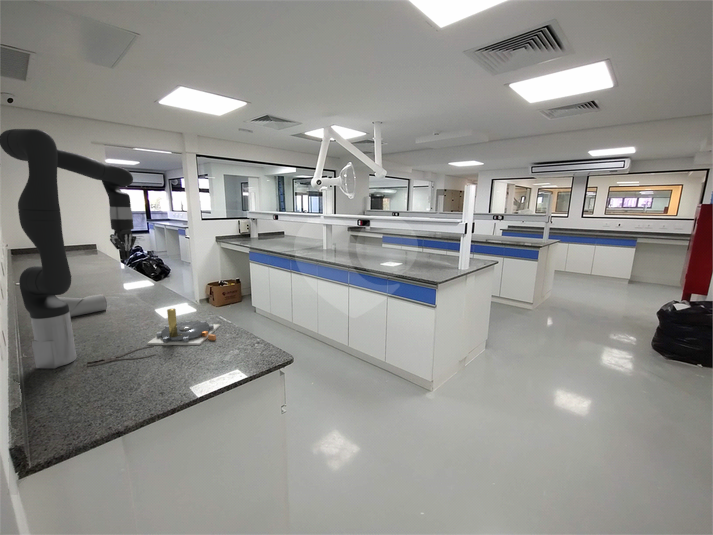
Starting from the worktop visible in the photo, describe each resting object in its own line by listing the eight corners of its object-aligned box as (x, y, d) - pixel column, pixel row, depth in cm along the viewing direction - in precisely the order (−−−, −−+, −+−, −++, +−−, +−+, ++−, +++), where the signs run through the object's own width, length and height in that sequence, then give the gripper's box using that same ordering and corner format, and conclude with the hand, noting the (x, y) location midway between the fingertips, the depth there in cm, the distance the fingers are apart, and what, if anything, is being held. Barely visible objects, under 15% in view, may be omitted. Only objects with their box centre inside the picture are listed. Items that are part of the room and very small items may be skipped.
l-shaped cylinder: (54, 320, 137) (109, 309, 154) (49, 297, 137) (104, 289, 153) (46, 320, 148) (98, 310, 164) (42, 299, 147) (94, 291, 163)
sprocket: (224, 326, 136) (222, 299, 134) (186, 346, 116) (183, 315, 114) (186, 320, 142) (184, 295, 140) (144, 338, 122) (140, 308, 120)
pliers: (161, 352, 112) (90, 372, 97) (161, 354, 112) (91, 375, 97) (152, 344, 118) (84, 362, 103) (152, 346, 119) (85, 364, 104)
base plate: (210, 345, 120) (209, 340, 120) (147, 344, 119) (146, 339, 119) (229, 326, 140) (228, 322, 139) (175, 325, 139) (174, 321, 138)
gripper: (119, 218, 121) (124, 261, 124) (141, 218, 134) (144, 257, 137) (99, 218, 120) (105, 261, 123) (123, 217, 133) (127, 256, 136)
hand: (126, 259), depth 130 cm, fingers closed
